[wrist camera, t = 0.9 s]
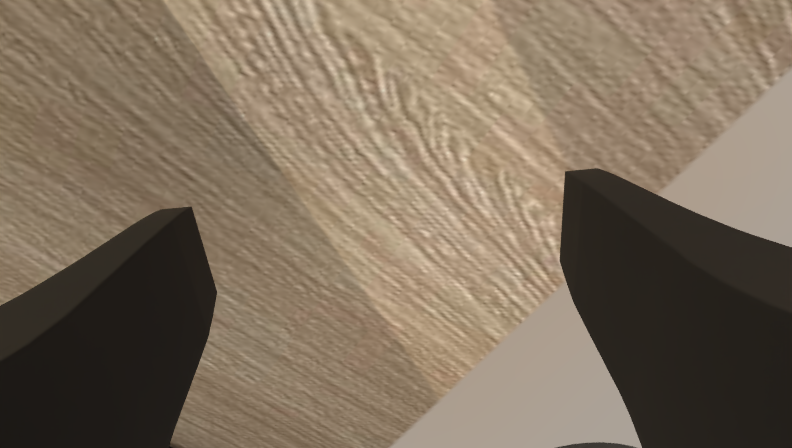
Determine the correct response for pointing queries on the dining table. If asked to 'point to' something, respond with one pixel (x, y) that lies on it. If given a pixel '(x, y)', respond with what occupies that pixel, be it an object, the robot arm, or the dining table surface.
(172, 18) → the dining table surface
